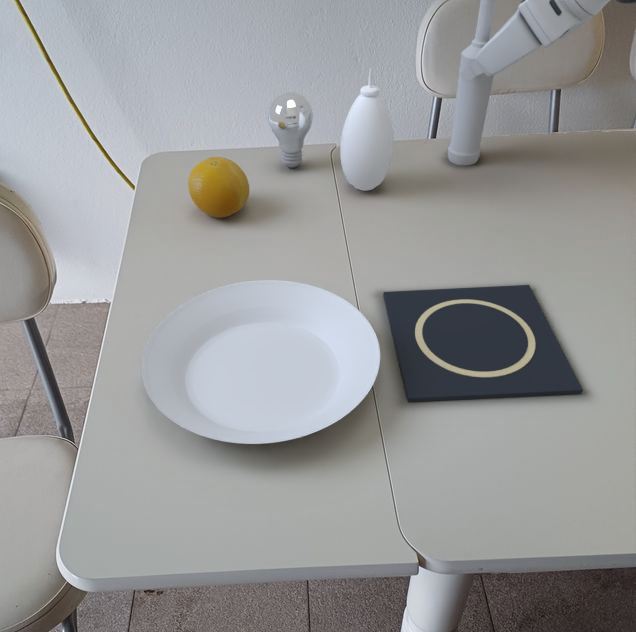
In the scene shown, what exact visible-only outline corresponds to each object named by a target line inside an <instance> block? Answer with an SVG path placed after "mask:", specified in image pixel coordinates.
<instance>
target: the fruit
mask: <svg viewBox="0 0 636 632" xmlns="http://www.w3.org/2000/svg"><path fill="white" fill-rule="evenodd" d="M187 186H188V192H189V195H190V198H191V200H192V202H193V204H195V206H196V207H197V208H198V209H199V210H200V211H201V212H203V213H204V214H206V215H208V216H211V217H213V218H218V219H219V218H220V219H223V218H227V217H231V216H232V215H234V214H236V213H238V212H240V211H241V210H242V208H244V207H245V205H246V203H247V202H248V199H249V196H250V183H249V180H248V177H247V175H246V174H245V172H244V170H243V169H242V168H241V166H239V165H238V164H237V163H236V162H234V161H233V160H231V159H229V158H226V157H223V156H211V157H208V158H205V159H203V160H201V161H200V162H198V163H197V164H196V165H195V166H194V167H193V169H192V170H191V172H190V174H189V176H188V183H187Z"/></svg>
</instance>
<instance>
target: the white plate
mask: <svg viewBox="0 0 636 632" xmlns="http://www.w3.org/2000/svg"><path fill="white" fill-rule="evenodd" d="M146 341H147V342H146V344H145V346H144V348H143V352H142V356H141V368H140V369H141V379H142V382H143V386H144V388H145V391H146V393H147V396H149V398H150V400H151V402H152V403H153V404H154V406H155V407H156V408H157V409H158V410H159V411H160V413H162V414H163V415H164V416H165V417H166V418H168V419H169V420H170V421H171V422H173V423H175V424H176V425H177V426H179V427H181V428H183V429H185V430H187V431H189V432H191V433H194V434H196V435H198V436H201V437H204V438H208V439H211V440H215V441H219V442H226V443H231V444H232V443H233V444H242V445H243V444H245V445H249V444H250V445H262V444H273V443H274V444H275V443H280V442H286V441H291V440H295V439H299V438H303V437H305V436H308V435H311V434H313V433H316V432H319V431H321V430H324V429H326V428H327V427H329V426H331V425H333V424H335V423H336V422H338V421H340V420H342V419H343V418H344V417H346V416H347V415H348V414H349V413H351V412H352V411H353V410H354V409H355V408H357V407H358V406H359V405H360V404H361V402H363V400H364V399H365V398H366V397H367V396H368V393H369V392H370V390H371V389H372V387H373V385H374V384H375V382H376V379H377V376H378V374H379V370H380V363H381V350H380V349H381V348H380V343H379V340H378V337H377V334H376V331H375V330H374V328H373V326H372V324H371V323H370V321H369V320H368V319H367V318H366V317H365V316H364V314H363V313H362V312H361V311H360V310H359V309H358V308H357V307H355V306H354V305H353V304H351V302H349V301H347V300H346V299H344V298H343V297H341V296H339V295H337V294H335V293H333V292H331V291H328V290H326V289H324V288H322V287H318V286H314V285H311V284H306V283H302V282H297V281H290V280H281V279H280V280H279V279H259V280H247V281H240V282H234V283H230V284H226V285H222V286H218V287H216V288H213V289H209V290H207V291H205V292H201V293H200V294H198V295H196V296H194V297H192V298H190V299H188V300H186V301H185V302H182V303H181V304H180V305H178V306H177V307H176V308H174V309H173V310H172V311H170V312H169V313H168V314H167V315H166V316H164V318H163V319H162V320H161V321H160V322H159V323H158V324H157V326H156V327H155V328H154V330H153V331H152V332H151V334H150V336H149V337H148V340H146Z"/></svg>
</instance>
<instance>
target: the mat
mask: <svg viewBox="0 0 636 632" xmlns="http://www.w3.org/2000/svg"><path fill="white" fill-rule="evenodd" d="M382 296H383V301H384V305H385V309H386V313H387V318H388V322H389V327H390V330H391V335H392V340H393V343H394V349H395V352H396V353H395V354H396V358H397V361H398V366H399V370H400V375H401V378H402V383H403V388H404V392H405V396H406V401H407V403H414V402H415V403H416V402H417V403H418V402H435V401H459V400H474V399H475V400H479V399H496V398H497V399H498V398H501V399H502V398H519V397H520V398H521V397H538V396H539V397H541V396H562V395H580V394H582V393H583V390H584V389H583V388H582V385H581V384H580V383H581V382H579V379H578V378H577V376H576V374H575V372H574V370H573V368H572V366H571V364H570V362H569V361H568V358H567V356H566V354H565V351H564V350H563V348H562V346H561V345H560V343H559V339H557V337H556V334H555V332H554V331H553V329H552V327H551V325H550V323H549V320H548V319H547V317H546V315H545V313H544V311H543V309H542V307H541V305H540V303H539V301H538V299H537V297H536V295H535V294H534V291H533V289H532V287H531V286H530V284H517V285H496V286H475V287H473V286H472V287H456V288H454V287H453V288H433V289H432V288H431V289H417V290H416V289H415V290H413V289H412V290H394V291H391V290H390V291H383V293H382Z"/></svg>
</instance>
